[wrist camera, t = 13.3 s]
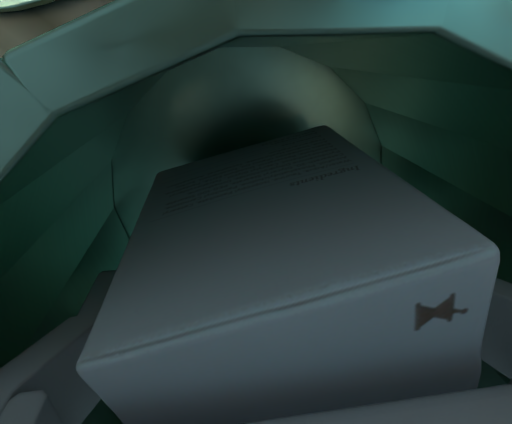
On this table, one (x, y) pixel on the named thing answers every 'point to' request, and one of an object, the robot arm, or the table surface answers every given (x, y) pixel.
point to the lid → (20, 4)
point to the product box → (288, 290)
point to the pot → (235, 122)
